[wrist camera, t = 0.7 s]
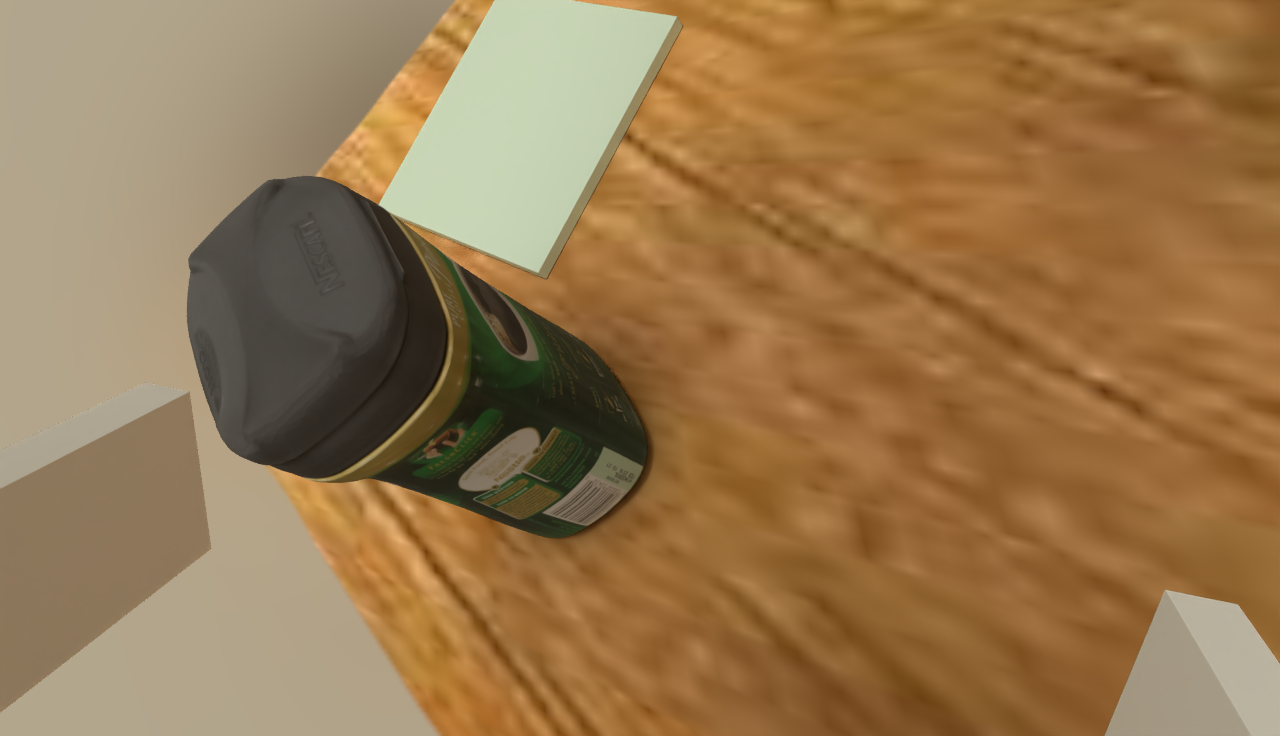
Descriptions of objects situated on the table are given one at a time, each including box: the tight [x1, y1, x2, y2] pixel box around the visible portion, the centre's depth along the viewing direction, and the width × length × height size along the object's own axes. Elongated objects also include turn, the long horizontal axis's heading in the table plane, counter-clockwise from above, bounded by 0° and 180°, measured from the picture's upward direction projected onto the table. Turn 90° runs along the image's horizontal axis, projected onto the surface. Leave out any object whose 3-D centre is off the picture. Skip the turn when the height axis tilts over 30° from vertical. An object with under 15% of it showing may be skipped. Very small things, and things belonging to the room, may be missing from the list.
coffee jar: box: [187, 176, 647, 538], centre depth 31 cm, size 10×8×19 cm
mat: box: [379, 0, 683, 279], centre depth 47 cm, size 16×14×1 cm
